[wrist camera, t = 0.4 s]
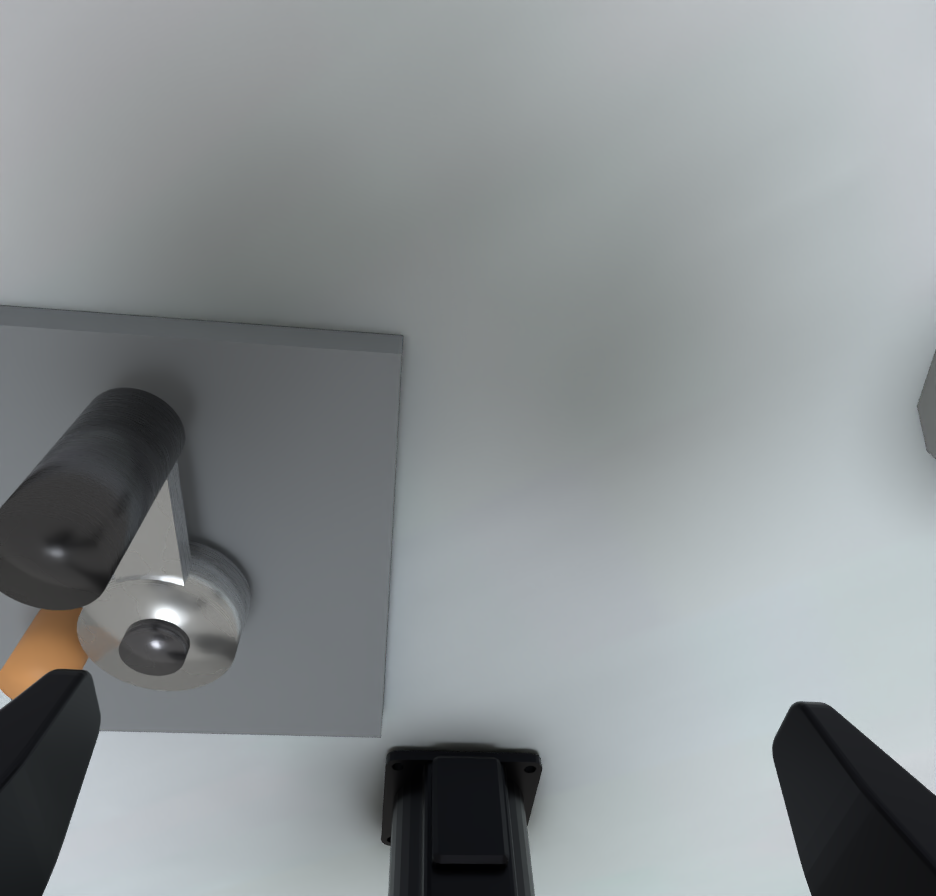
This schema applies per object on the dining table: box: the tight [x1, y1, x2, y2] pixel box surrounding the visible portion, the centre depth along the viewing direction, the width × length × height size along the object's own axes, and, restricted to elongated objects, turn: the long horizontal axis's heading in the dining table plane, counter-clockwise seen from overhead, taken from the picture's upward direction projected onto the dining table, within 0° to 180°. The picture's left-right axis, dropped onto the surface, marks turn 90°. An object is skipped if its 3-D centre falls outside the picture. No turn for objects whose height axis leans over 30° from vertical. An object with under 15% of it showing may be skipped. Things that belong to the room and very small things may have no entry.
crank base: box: [0, 306, 403, 738], centre depth 21 cm, size 16×13×4 cm
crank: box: [0, 388, 251, 691], centre depth 18 cm, size 10×4×6 cm, turn 174°
